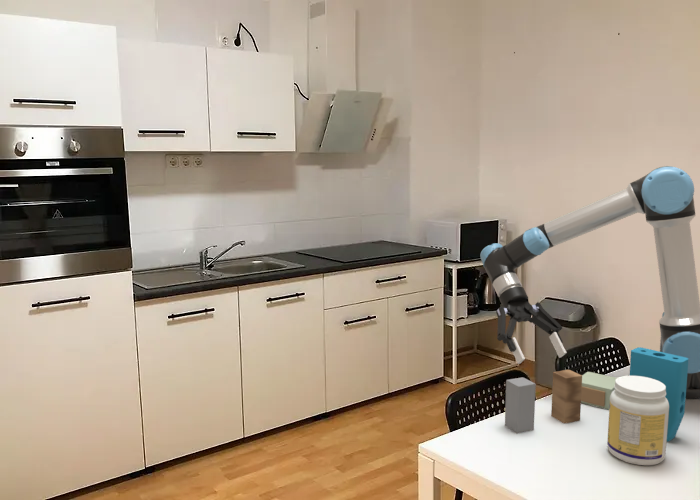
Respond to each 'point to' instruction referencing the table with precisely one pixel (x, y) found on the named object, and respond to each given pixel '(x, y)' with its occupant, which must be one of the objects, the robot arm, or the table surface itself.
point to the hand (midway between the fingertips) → (542, 358)
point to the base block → (597, 389)
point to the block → (664, 380)
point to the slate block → (520, 405)
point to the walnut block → (566, 396)
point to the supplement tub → (638, 420)
